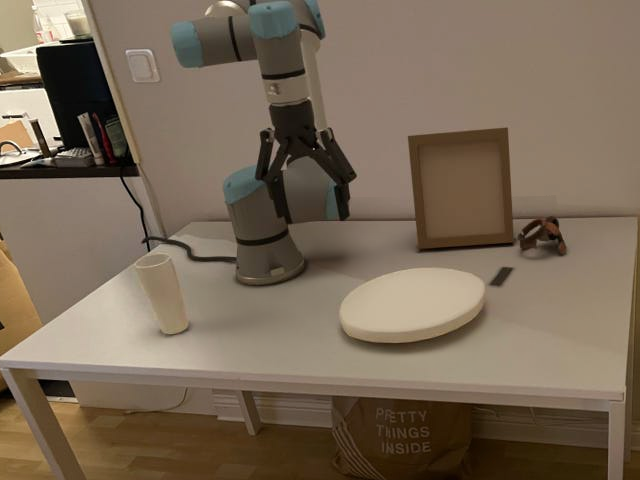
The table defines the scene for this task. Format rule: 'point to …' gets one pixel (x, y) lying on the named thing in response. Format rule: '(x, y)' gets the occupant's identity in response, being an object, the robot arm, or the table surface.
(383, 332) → the plate
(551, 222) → the brown curved piece
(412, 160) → the photo frame
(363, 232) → the table surface
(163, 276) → the drinking glass
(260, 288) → the table surface
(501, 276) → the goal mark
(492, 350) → the table surface
